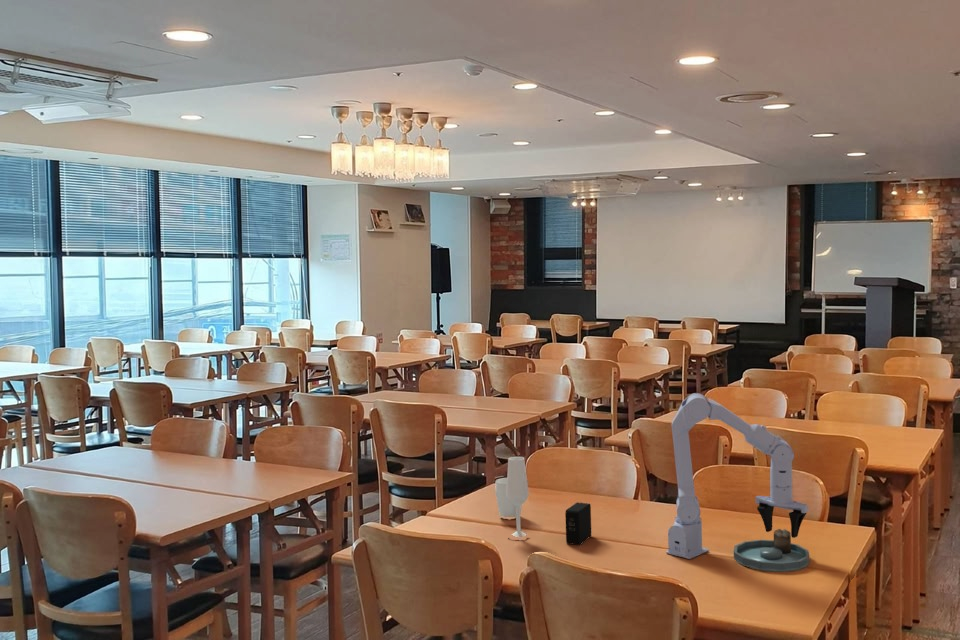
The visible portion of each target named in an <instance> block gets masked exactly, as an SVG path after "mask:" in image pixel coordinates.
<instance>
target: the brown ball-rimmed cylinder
mask: <svg viewBox="0 0 960 640" xmlns="http://www.w3.org/2000/svg"><path fill="white" fill-rule="evenodd" d="M791 538H792V536H791V531H790V530H787V529H785V528H784V529H781V528H778V529H775V530H774V531H773V540H774V548H776V549H779V550H781V551H782V554H789V553H791V543H792V539H791Z"/></svg>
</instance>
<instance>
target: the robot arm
mask: <svg viewBox="0 0 960 640" xmlns="http://www.w3.org/2000/svg"><path fill="white" fill-rule="evenodd" d="M707 418H708V421H709V420H710V421H715V420H720V421H721V422H722V423H724V424H726V425H727V426H729V427H731V428H733V429H734V430H735V431H738V432H739V433H740V434H742V435H743V437H744V441H745V443H747V444H749V445H750V446H751V447H754V448H755V449H757V450H759V451H760V452H761V453H763V454H764V455H769V456H770V469H769V470H770V472H769V477H770V479H769V486H770V488H769V489H770V490H769V491H770V492H769V493H770V496H766V495H756V496H755V504H757V505H758V506H757V507H756V510H757V511H758V512H759V515H760V517H761V519H762V522H763V525H764V529H765V532H766V533H769V532H772V531H773V514H774V509H775V507H776V508H780V509H785V510H790V512H788V516H789V520H790V527H791V528H790V533H791V538H793V539H794V538H797V537H798V536H799V532H800V527H801V525H802V522H803V520H804V519H805V517H806V515H807V513H809V504H806V503H802V502H799V501H796V500H793V468H792V467H793V466H792V465H793V462H792V461H793V460H794V458H795V454H794V450H793V449H792V447H791V445H790V443H789V442H787V441H786V440H785V439H784V438H782V437H781V436H779V435H777V436H776V435H775V434H774V433H772V432H770V431H769V430H767V427H766V426H765V425H764V424H761V425H760V424H758V423H755V424H750V423H748V422H747V421H745V420H744V419H742V418H741V417H740V416H738V415H737V414H736V413H734V412H732V410H729V409H728V408H726V407H725V406H723V404H721V403H719V402H717V401H716V400H713V399H712V398H710V397H707V396H705V395H704V394H702V393H699V392H694V393H691V394H689V395H688V396H687V397H686V398H685V399H684V400H682V402H681V404H680V406H679V408H678V410H677V412H676V414H675V415H674V417H673V419H672V421H671V433H672V444H673V453H674V454H673V455H674V461H675V462H674V463H675V471H676V472H675V473H676V483H677V490H678V491H677V493H678V494H677V498H676V503H675V504H676V516H674V523H673V524H672V525H671V526H670V527H669V529H668V531H667V539H668V540H667V542H668V546H667V547H668V550H666V551H665V553H666V554H668V555H673V556H677V557H681V558H684V559H689V560H691V559H693V558H696V557H697V556H700V555H703V554H705V553H707V552H709V548H705V547H703V529H702V527H703V526H702V525H703V524H702V523H703V521H702V518H701V517H700V516H701V508H700V502H699V499H698V497H697V495H696V492H695V483H694V473H693V465H692V455H691V443H690V435H689V431H690V430H691V429H692V428H693V427H694V426H695V425H696V424H698V423H700V422H702V421H704V420H705V419H707Z"/></svg>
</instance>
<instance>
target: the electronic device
mask: <svg viewBox="0 0 960 640" xmlns="http://www.w3.org/2000/svg"><path fill="white" fill-rule="evenodd" d="M591 509H592V507H591V503H588V502H575V503H574V504H572V505H571V506H570V507H568V508H567V509H565V513H564V514H565V541H566V542H565V543H566V544H568V543H573V544H572V545H576V544H579V545H578V546H581V545H582V544H583V543H585V542H586V541H587V540H588V539H589V538H588V537H590V536H591V537H592V514H591V513H592V512H591V511H592V510H591ZM591 537H590V538H591ZM587 538H588V539H587ZM586 539H587V540H586ZM585 540H586V541H585ZM584 541H585V542H584ZM582 542H583V543H582ZM581 543H582V544H581ZM580 544H581V545H580Z"/></svg>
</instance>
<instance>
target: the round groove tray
mask: <svg viewBox="0 0 960 640" xmlns="http://www.w3.org/2000/svg"><path fill="white" fill-rule="evenodd" d="M733 558H734V560H736V561H737V562H738V563H737V564H739V563H740V564H739V565H741V566H743V567H745V566H747V567H746V568H748V567H750V568H749V569H751V568H753V569H752V570H755V569H756V571H763V572H771V573H787V572H788V573H789V572H794V571H795V572H796V571H799V570H803V569H805V568H806V567H808V566H809V564H810V551H809V549H807V548H805V547H803V546H801V545H799V544H796V543H792V542H791V553H789V554H782V551H781V550H779V549H776V548H774V539H773V540H771V539H755V540H747V541H743V542H741V543H738V544H736V545H734V547H733ZM736 561H735V562H736Z"/></svg>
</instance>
